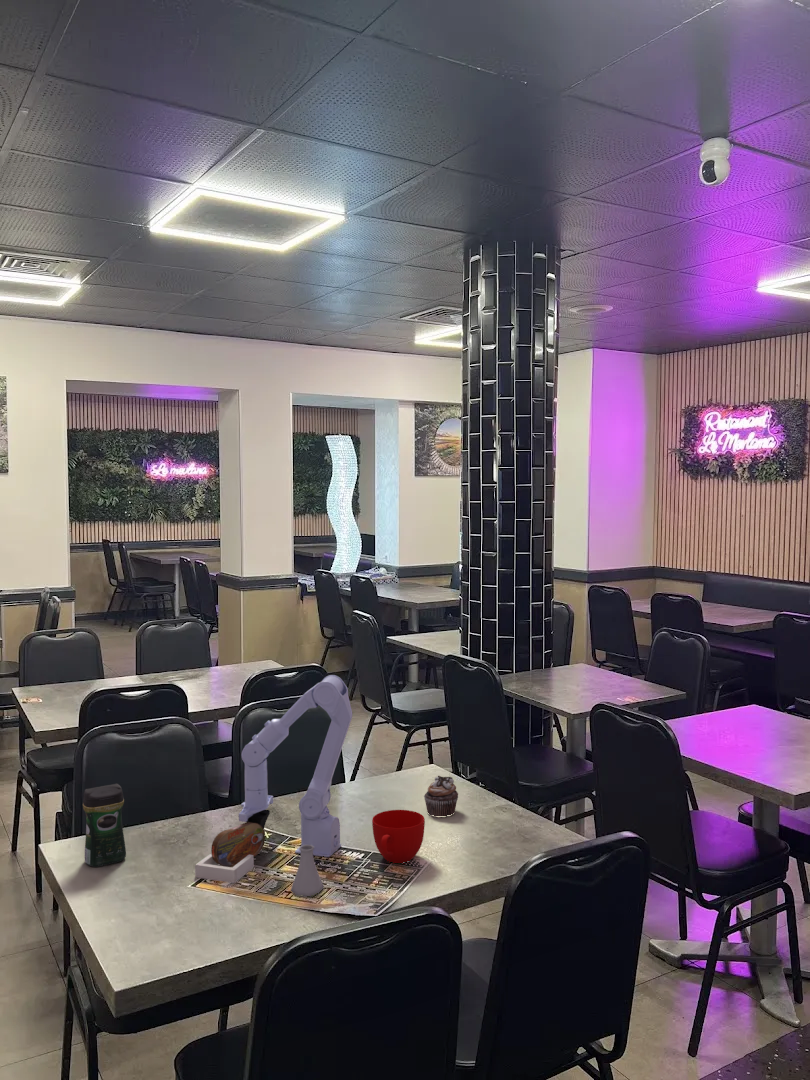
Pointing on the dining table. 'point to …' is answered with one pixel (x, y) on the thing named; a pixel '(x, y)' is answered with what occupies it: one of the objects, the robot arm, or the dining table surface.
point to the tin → (237, 843)
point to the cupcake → (441, 797)
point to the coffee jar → (104, 825)
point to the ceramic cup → (398, 834)
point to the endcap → (223, 869)
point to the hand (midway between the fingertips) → (257, 839)
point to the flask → (307, 874)
